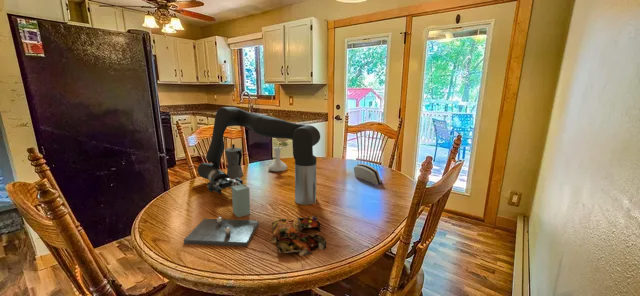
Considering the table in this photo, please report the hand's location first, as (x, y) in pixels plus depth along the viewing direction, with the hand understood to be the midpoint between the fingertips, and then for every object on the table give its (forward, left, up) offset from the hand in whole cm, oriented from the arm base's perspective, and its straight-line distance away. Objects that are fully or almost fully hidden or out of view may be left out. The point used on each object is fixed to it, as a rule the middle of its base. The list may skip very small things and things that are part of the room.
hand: (230, 189), depth 112 cm
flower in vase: (-11, -49, -7) cm, 50 cm away
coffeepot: (+11, -36, -7) cm, 38 cm away
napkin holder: (-62, -36, -7) cm, 72 cm away
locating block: (-7, +8, -7) cm, 13 cm away
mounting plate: (-6, +23, -7) cm, 25 cm away
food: (-31, +23, -7) cm, 40 cm away
